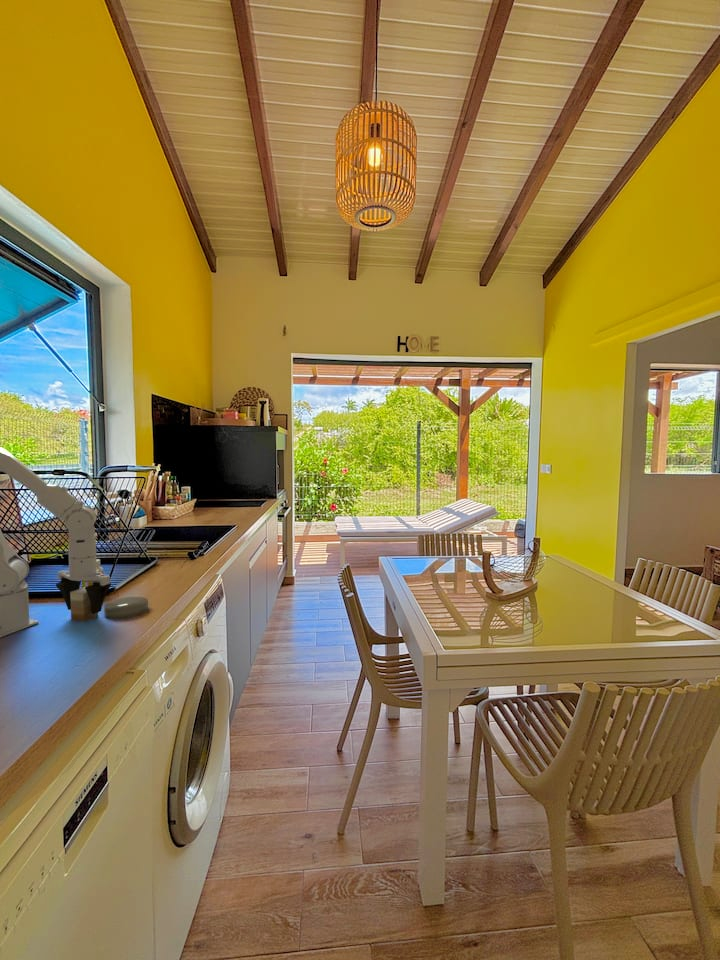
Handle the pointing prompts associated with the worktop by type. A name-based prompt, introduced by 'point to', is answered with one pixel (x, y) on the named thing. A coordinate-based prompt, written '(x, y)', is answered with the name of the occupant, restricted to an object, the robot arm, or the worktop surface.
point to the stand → (126, 607)
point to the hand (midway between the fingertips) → (84, 610)
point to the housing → (81, 606)
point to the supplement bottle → (85, 584)
